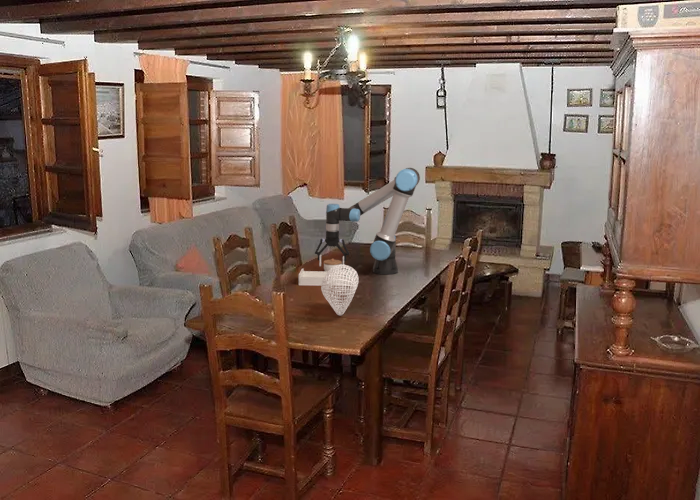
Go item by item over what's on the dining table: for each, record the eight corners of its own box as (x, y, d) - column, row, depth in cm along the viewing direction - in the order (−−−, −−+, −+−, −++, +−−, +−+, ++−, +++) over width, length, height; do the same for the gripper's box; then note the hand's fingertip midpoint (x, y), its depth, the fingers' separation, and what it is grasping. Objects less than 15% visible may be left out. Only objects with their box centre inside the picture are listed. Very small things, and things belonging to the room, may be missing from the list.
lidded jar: (339, 276, 376) (339, 260, 375) (321, 275, 379) (321, 260, 377) (343, 272, 387) (343, 257, 385) (326, 271, 389) (325, 256, 387)
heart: (328, 306, 316) (327, 261, 312) (359, 307, 315) (359, 262, 310) (319, 323, 289) (318, 275, 285) (353, 325, 287) (354, 276, 283)
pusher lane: (356, 279, 370) (356, 269, 369) (355, 286, 355) (355, 275, 354) (302, 278, 371) (302, 268, 370) (298, 285, 357) (298, 274, 355)
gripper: (354, 230, 381) (353, 265, 385) (311, 228, 382) (311, 264, 386) (353, 232, 373) (352, 268, 378) (310, 230, 375) (310, 266, 379)
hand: (331, 266), depth 382 cm, fingers open, 13 cm apart
